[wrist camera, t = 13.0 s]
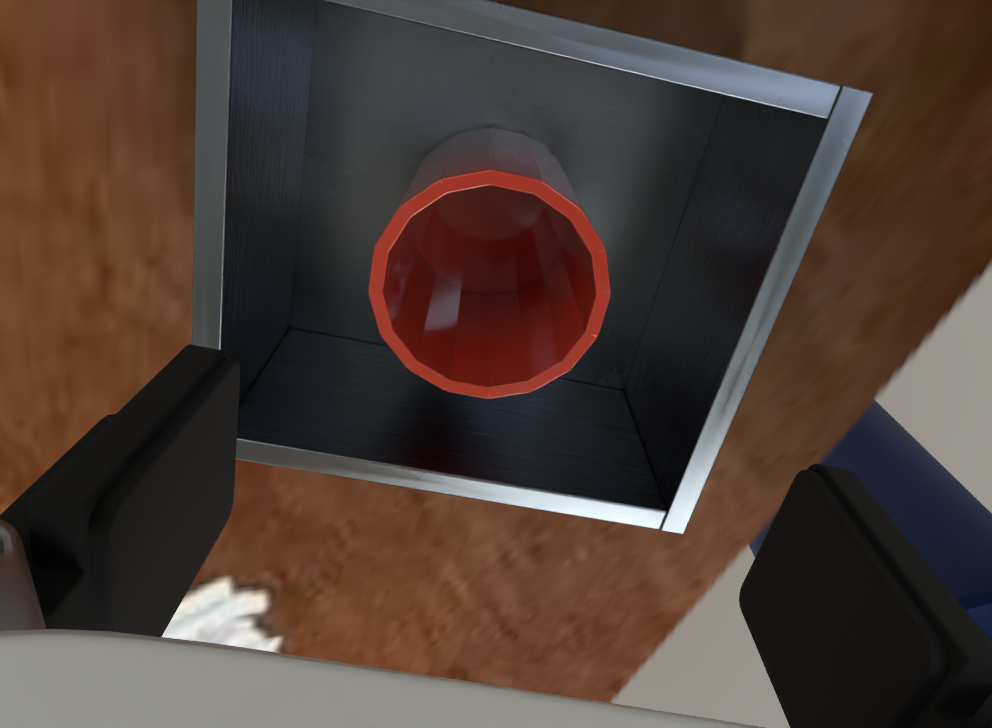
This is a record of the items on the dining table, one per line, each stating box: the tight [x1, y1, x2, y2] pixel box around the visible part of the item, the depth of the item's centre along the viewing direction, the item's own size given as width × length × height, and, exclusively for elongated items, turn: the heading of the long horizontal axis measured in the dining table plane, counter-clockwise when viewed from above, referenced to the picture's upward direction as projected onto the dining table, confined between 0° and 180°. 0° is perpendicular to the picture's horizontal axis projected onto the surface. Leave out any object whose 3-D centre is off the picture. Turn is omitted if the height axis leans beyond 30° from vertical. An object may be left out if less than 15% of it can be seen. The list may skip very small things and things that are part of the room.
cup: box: [368, 128, 611, 399], centre depth 22 cm, size 6×6×8 cm
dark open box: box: [192, 0, 873, 534], centre depth 22 cm, size 16×14×9 cm
